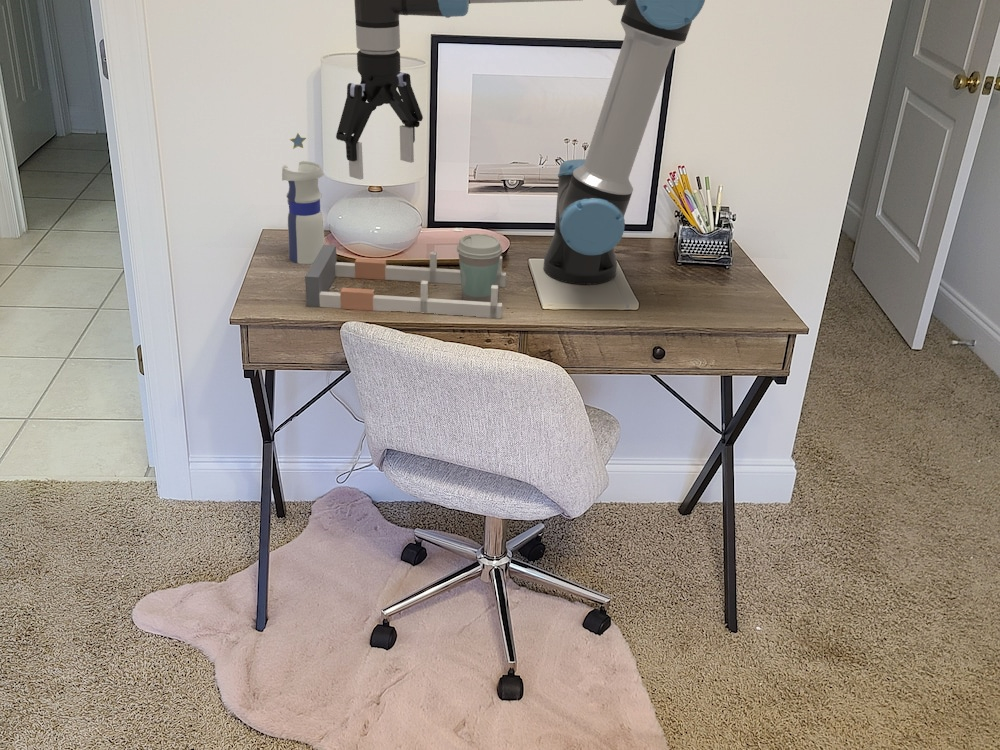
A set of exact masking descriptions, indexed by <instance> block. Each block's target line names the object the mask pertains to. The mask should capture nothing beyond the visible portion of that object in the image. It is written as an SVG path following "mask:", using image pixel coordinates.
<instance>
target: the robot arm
mask: <svg viewBox="0 0 1000 750" xmlns="http://www.w3.org/2000/svg"><path fill="white" fill-rule="evenodd" d="M568 1H569V2H575V1H579V2H580V1H582V0H354V15H355V36H356V38H355V40H356V41H355V42H356V48H357V49H358V51H357V52H356V62H357V63H356V65H357V66H356V67H357V69H356V70H357V72H358V74H359V75H360V77H361V79H360V83H358V84H357V83H351V82H349V83H348V84H347V85H346V86H347V87H346V99H345V103H344V106H343V109H342V114H341V116H340V120H339V124H338V128H337V131H336V134H335V139H336V140H338V141H340V142H344V143H345V149H346V150H345V151H346V152H345V154H346V159H347V161H348V169H349V170H348V171H349V172H348V173H349V174H348V175H349V177H351V178H353V179H357V180H364V162H363V142H360V141H359V140H360V138H361V136H362V134H363V132H364V130H365V128H366V126H367V123H368V122H369V119H370V117H371V115H372V113H373V112H374V111H375V110H377V107H380V106H383V105H384V104H386V105H389V106H390V107H391V108H392V110H393V111H394V113H395V114H396V116H397V117H398V118H399V119H400V121H401V122H402V125H399V152H400V153H399V154H400V157H399V158H400V161H402V162H406V163H411V164H412V163H414V161H415V158H414V157H415V153H414V152H415V151H414V150H415V149H414V143H415V141H416V138H415V135H416V133H415V132H416V129H415V128H418V127H419V126H420V125H421V123H420V122H422V121H423V119H424V117H423V114H422V111H421V108H420V105H419V103H418V99H417V98H416V95H415V92H414V89H413V87H412V81H411V80H412V79H411V75H410V73H408V72H407V73H406V72H401V53H400V52H399V49H400V48H401V35H400V34H401V33H400V32H401V31H400V29H401V28H400V16H421V17H422V16H424V17H425V16H427V17H442V18H443V17H444V18H446V19H447V18H448V19H449V18H451V17H454V18H455V17H456V18H457V17H464V16H467V14H468V12H469V6H470V5H471V4H492V3H493V4H496V3H499V4H500V3H534V2H538V3H539V2H568ZM608 1H609V2H610V3H611V4H612V5H613V6H624V9H623V12H622V15H621V19H620V25H621V26H622V29H623V31H624V33H625V35H624V39H623V42H622V45H621V48H620V51H619V54H618V57H617V60H616V63H615V66H614V70H613V73H612V77H611V79H610V82H609V84H608V88H607V91H606V95H605V99H604V101H603V104H602V108H601V110H600V113H599V116H598V119H597V123H596V125H595V129H594V132H593V136H592V138H591V141H590V144H589V148H588V151H587V155H586V158H585V159H584V158H583V159H581V158H580V159H579V158H578V159H576V158H575V159H568V160H565V161H563V162H562V163H560V166H559V171H558V174H557V177H558V183H557V184H558V185H557V198H556V213H555V223H554V224H555V225H554V234H553V236H552V238H551V241H550V242H549V245H548V248H547V250H546V253H545V255H544V258H543V270H544V272H545V273H546V274H547V276H549V277H551V278H553V279H555V280H558V281H560V282H561V281H562V282H564V283H569V284H575V285H595V284H596V285H597V284H602V283H605V282H606V283H607V282H609V281H611V280H612V279H614V278H615V277H616V275H617V268H618V261H617V257H616V253H615V247H616V246H617V245H618V244H619V243H620V242H621V239H622V238H623V235H624V232H625V226H626V223H625V214H626V212H627V210H628V206H629V203H630V200H631V198H632V194H633V192H634V187H633V186H632V183H631V182H630V176H631V173H632V170H633V167H634V163H635V161H636V158H637V155H638V152H639V149H640V146H641V143H642V140H643V138H644V135H645V133H646V132H645V131H646V129H647V126H648V123H649V120H650V117H651V115H652V113H653V112H652V111H653V109H654V105H655V103H656V99H657V97H658V94H659V91H660V89H661V88H660V87H661V85H662V82H663V79H664V76H665V74H666V72H667V67H668V65H669V63H670V59H671V57H672V54H673V50H675V48H678V47H679V46H681V45H683V44H684V43H686V40H687V37H688V34H689V31H690V29H691V26H692V23H693V21H694V20H695V19H696V18H697V16H698V15H699V14H700V12H701V10H702V9H703V6H704V5H705V2H706V0H608ZM469 4H470V5H469Z"/></svg>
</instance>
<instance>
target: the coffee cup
mask: <svg viewBox="0 0 1000 750" xmlns="http://www.w3.org/2000/svg"><path fill="white" fill-rule="evenodd" d="M459 239H460V240H459V242H458V244H457V248H456V251H457V254H458V260H459V261H458V262H459V270H460V274H461V284H460V285H461V294H462V295H461V296H462V300H463V301H479V302H491V287H492V285H495V283H496V277H497V271H498V265H499V259H500V256H501V255H502V254H503V248H502V246H501V242H500V239H498V238H497V237H496V236H493V235H489V234H485V233H473V234H472V233H471V234H466V235H464V236H462V237H461V238H459Z"/></svg>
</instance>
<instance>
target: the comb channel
mask: <svg viewBox="0 0 1000 750" xmlns="http://www.w3.org/2000/svg"><path fill="white" fill-rule="evenodd" d="M429 253H430V254H429V267H423V266H420V267H419V266H407V265H406V266H405V265H403V266H402V265H393V264H391V265H389V264H387V260H386V259H374V258H355V261H354V262H343V261H338V260H337V246H336V245H334V244H333V245H331V244H325V245H323V246H322V248H321V250H320V252H319V253H318V255H317V257H316V258H315V260H314V262H313V264H310V267H309V269H308V271H307V272H306V274H305V276H304V283H305V300H306V307H312V308H313V307H316V308H318V307H319V308H332V309H342V310H343V309H344V310H358V311H372V312H373V311H378V312H391V311H408V312H409V311H410V312H424V313H434V314H433V315H438V314H447V315H446V316H453V315H463V316H462V317H469V316H476V317H475V318H485V317H486V318H487V319H488V318H489V319H502V315H503V303H502V302H498V300H499V299H498V297H499V296H498V295H499V288H506V283H507V282H506V280H507V272H503V271H502V270H503V256H502V255H500V259H499V265H498V271H497V277H496V283H495V285H492V287H491V302H479V301H464V300H463V299H462V300H461V299H444V298H430V297H429V283H432V284H449V285H461V274H460V269H455V268H454V269H452V268H451V269H450V268H437V266H438V264H437V263H438V251H430V252H429ZM336 277H337V278H338V277H339V278H352V279H353V278H354V279H363V280H364V279H365V280H368V279H369V280H381V281H388V280H389V281H402V282H416V283H420V297H415V296H402V295H401V296H399V295H398V296H397V295H396V296H395V295H383V294H380V295H379V294H375V289H373V288H372V289H370V288H369V289H368V288H353V287H341V289H340V292H336V291H329V290H330V288H331V286H332V284H333V282H334V280H335V279H336ZM435 313H436V314H435Z"/></svg>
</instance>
